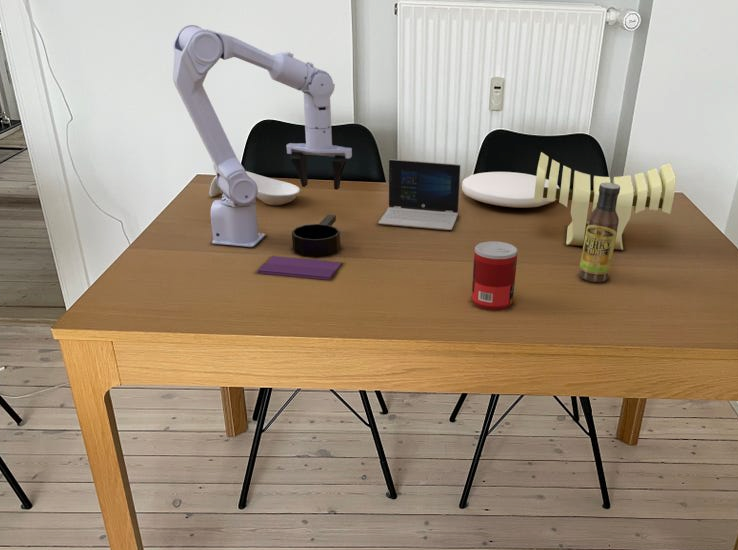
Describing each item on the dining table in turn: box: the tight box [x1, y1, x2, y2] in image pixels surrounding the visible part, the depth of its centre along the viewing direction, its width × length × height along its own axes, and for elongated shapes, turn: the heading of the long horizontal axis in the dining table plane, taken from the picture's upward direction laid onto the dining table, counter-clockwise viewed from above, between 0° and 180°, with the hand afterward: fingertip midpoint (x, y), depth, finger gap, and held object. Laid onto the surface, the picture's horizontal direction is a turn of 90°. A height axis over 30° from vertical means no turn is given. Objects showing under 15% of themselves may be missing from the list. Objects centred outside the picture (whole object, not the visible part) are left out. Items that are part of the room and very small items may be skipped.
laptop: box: [377, 158, 461, 231], centre depth 177 cm, size 18×12×13 cm
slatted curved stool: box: [534, 151, 677, 251], centre depth 169 cm, size 30×16×18 cm, turn 80°
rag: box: [257, 255, 343, 281], centre depth 150 cm, size 15×9×1 cm, turn 82°
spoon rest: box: [208, 170, 301, 206], centre depth 187 cm, size 24×12×7 cm, turn 80°
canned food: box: [471, 241, 518, 311], centre depth 137 cm, size 8×8×11 cm
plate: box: [461, 171, 561, 209], centre depth 198 cm, size 28×6×27 cm
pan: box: [291, 214, 341, 258], centre depth 163 cm, size 17×10×4 cm, turn 172°
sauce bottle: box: [578, 182, 620, 283], centre depth 148 cm, size 6×6×20 cm
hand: (320, 187), depth 168 cm, fingers open, 7 cm apart
